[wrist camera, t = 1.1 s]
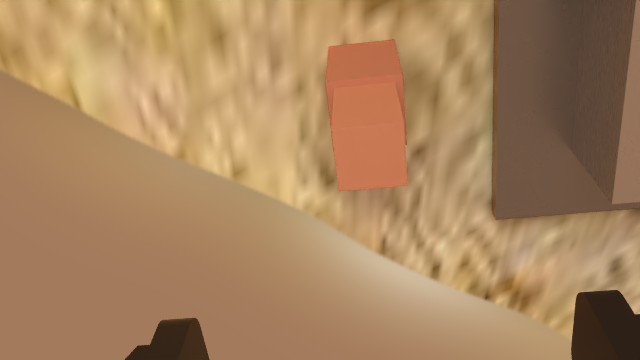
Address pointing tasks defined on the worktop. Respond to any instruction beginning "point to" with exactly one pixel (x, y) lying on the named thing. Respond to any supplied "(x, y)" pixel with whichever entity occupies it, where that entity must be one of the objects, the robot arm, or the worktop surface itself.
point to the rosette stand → (565, 107)
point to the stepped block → (367, 115)
